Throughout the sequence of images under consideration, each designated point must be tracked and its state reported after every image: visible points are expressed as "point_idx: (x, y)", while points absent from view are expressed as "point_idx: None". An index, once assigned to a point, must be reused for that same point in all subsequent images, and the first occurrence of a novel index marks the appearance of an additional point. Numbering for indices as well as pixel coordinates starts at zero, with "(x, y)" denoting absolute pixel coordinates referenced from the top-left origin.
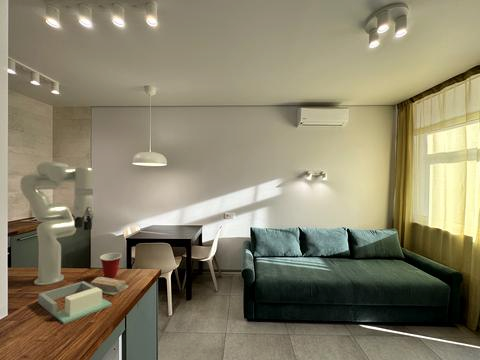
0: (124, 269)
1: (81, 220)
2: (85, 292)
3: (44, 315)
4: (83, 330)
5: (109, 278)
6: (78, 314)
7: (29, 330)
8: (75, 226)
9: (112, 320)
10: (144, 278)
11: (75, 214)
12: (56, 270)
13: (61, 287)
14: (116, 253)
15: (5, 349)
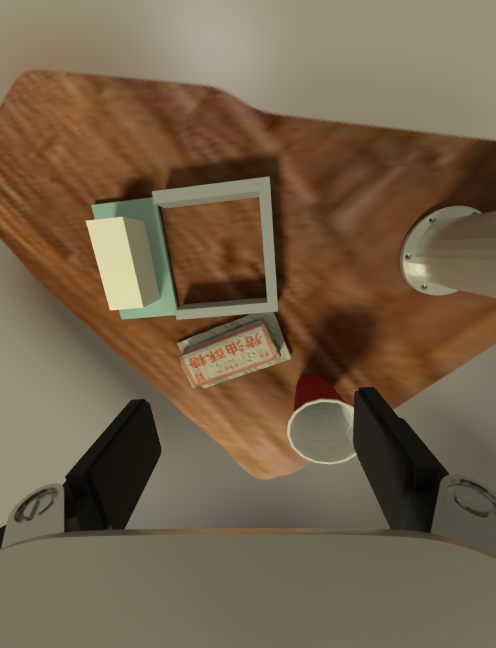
0: None
1: (387, 513)
2: (120, 270)
3: (172, 180)
4: (40, 230)
5: (238, 368)
6: None
7: (110, 133)
8: (363, 396)
9: (50, 290)
10: (230, 435)
11: (319, 585)
12: (436, 269)
13: (272, 245)
14: (343, 458)
15: (47, 72)
